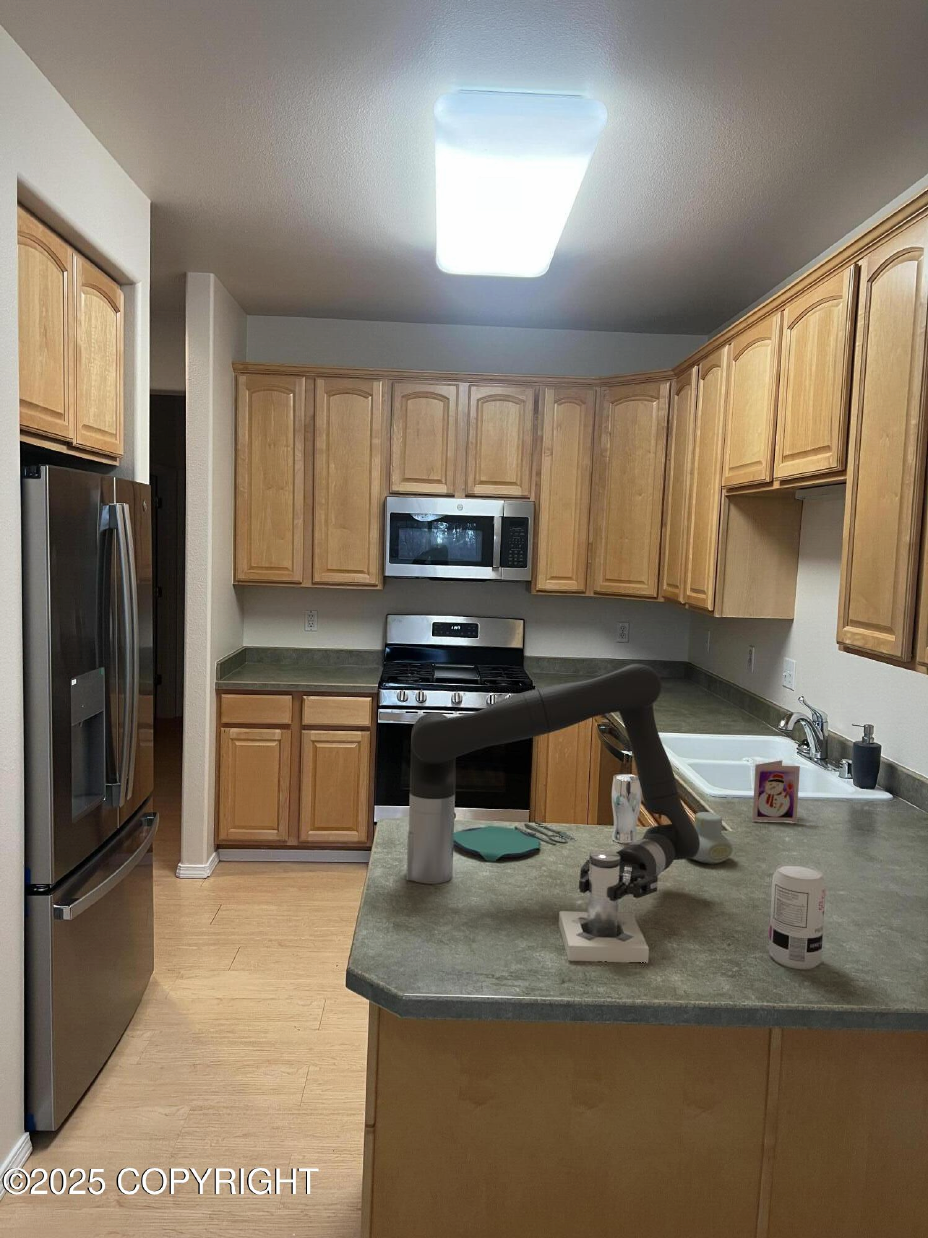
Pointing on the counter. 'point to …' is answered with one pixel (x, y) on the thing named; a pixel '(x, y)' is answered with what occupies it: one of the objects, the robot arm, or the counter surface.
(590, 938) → the mount plate
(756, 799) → the greeting card
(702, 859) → the air freshener
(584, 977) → the counter surface
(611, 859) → the grey cylindrical piece
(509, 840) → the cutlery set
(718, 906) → the counter surface
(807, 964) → the supplement can
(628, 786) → the beer glass
